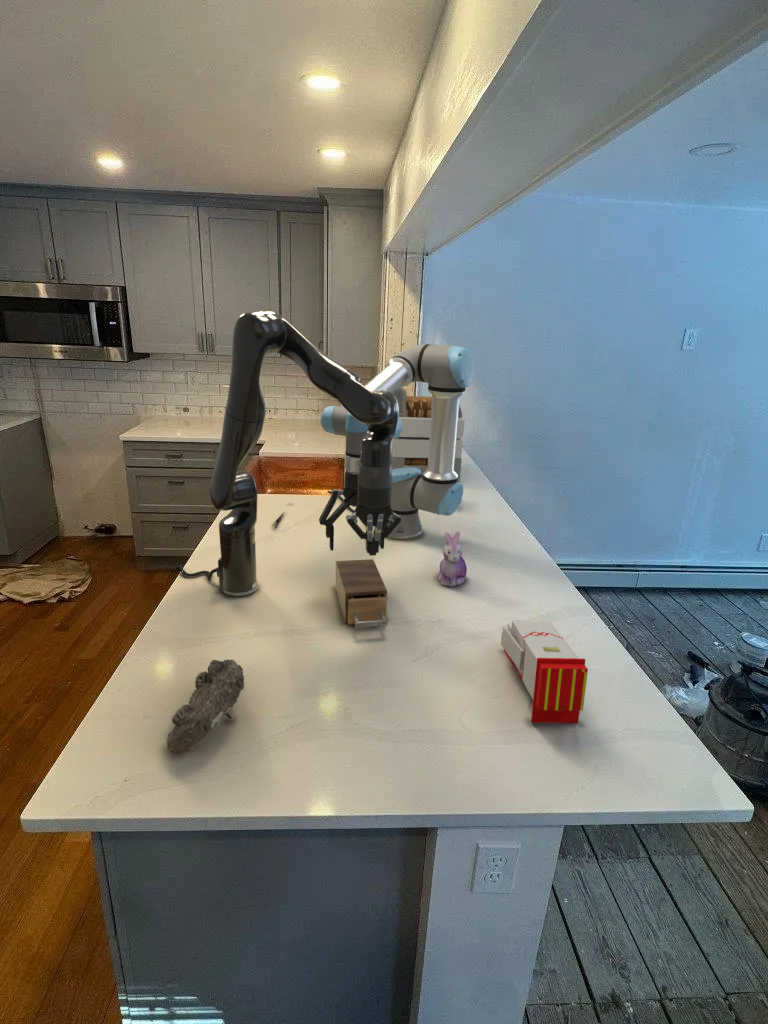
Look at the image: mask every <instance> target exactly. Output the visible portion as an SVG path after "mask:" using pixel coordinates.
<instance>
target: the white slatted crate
mask: <svg viewBox="0 0 768 1024" xmlns="http://www.w3.org/2000/svg"><path fill="white" fill-rule="evenodd" d="M407 394H408V393H407V390H406V389H404V387H401V388H400V389H399V390H398V391H396V392H395V393H394V394H393V395H394V396H395V397H396V399H397V401H398V406H399V418H400V419H401V422H402V431H401V434H400V435H399V436H398V437H397V438H395V439H393V444H392V470H393V469H397V468H405V466H406V467H408V466H411V467H415V466H416V467H417V466H418V467H428V455H429V440H430V425H431V410H432V396H415V395H414V396H413V395H412V396H411V395H407ZM464 429H465V419H464V418H463V411H462V408H461V405H460V404H459V413H458V425H457V437H456V449H455V461H454V471H455V472H456V473H457V475H458V482H460V483H461V472H462V461H463V460H462V453H463V442H464V441H463V440H462V439H463V438H464V431H465V430H464Z"/></svg>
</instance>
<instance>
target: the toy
mask: <svg viewBox="0 0 768 1024" xmlns="http://www.w3.org/2000/svg"><path fill="white" fill-rule="evenodd" d="M500 645H501V646H502V648H503V652H504V654H505V655H506V657H507V658H508V660H509V661H510V663H511V664H512V666H513V668H514V669H515V671H516V672H517V674H518V676H519V677H520V679H521V680H522V683H523V685H524V686H525V688H526V690H527V692H528V694H529V696H530V697H531V699H532V708H531V719H530V722H531V723H532V724H579V719H580V712H583V711H584V706H585V697H586V689H587V680H588V671H589V669H588V667H587V666H586V659H585V658H580V657H579V656H578V655H577V654H576V652H575V651H574V650H573V648H572V647H571V646H570V645H569V644H568V642H567V641H566V640H565V638H564V637H563V636H562V634H561V633H560V632H559V631H558V630H557V628H556V627H555V626H554V624H553V623H552V622H551V621H549V620H548V621H545V620H540V621H539V620H511V622H508V623H507V626H502V632H501V638H500Z"/></svg>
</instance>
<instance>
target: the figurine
mask: <svg viewBox="0 0 768 1024" xmlns="http://www.w3.org/2000/svg"><path fill="white" fill-rule="evenodd" d="M444 538H445V546H444V548H443V550H442V554H443V558H442V559H441V561H440V562H439V571H438V572H439V573H438V580H439V582H440V583H441V585H442V586H447V587H455V586H457V585H458V586H460V585H461V584H463V583H464V581H465V580H466V576H467V573H468V572H467V571H468V569H467V563H466V561H465V559H464V557H463V551H462V548H461V546H460V538H461V532H460V531H459V530H458V531H456V532H455V534H454V535H453V537H452V536H451V534H450V533H449V532H448V531H446V532H445V533H444Z"/></svg>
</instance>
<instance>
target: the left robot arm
mask: <svg viewBox="0 0 768 1024" xmlns="http://www.w3.org/2000/svg"><path fill="white" fill-rule="evenodd" d="M231 351H232V352H231V369H230V378H229V385H228V393H227V399H226V404H225V410H224V415H223V422H222V429H221V430H222V431H221V432H222V433H221V437H220V442H219V448H218V453H217V456H216V461H215V465H214V468H213V472H212V476H211V479H210V484H209V497H210V498H209V499H210V502H211V505H212V506H213V507H214V508H215V510H218V511H222V512H223V511H224V512H225V511H229V513H228V514H227V515H226V516H223V518H221V519H220V520H219V523H218V531H219V547H220V548H219V549H220V557H219V558H218V559H217V567H216V568H213V569H211V570H210V571H209V570H201V571H196V572H193V573H192V572H191V573H189V572H186V571H185V569H184V567H183V565H177V566H176V568H175V569H176V570H177V571H178V570H180V573H181V574H182V575H183V576H184V577H188V578H193V577H197V576H200V575H201V576H202V575H207V576H206V577H207V579H208V580H210V579H212V578H213V574H214V573H216V577H217V578H218V585H219V592H220V593H223V594H225V595H227V596H230V597H246V596H248V595H251V594H254V593H255V592H256V591H257V590H258V577H257V576H258V574H257V572H258V571H257V548H256V547H257V546H256V523H257V521H258V486H257V483H256V480H255V478H254V476H253V474H252V473H250V472H249V471H247V470H239V469H240V466H241V465H242V463H243V461H244V460H245V459H246V458H247V456H248V455H249V453H250V452H252V450H253V448H254V447H255V446H256V445H257V443H258V441H259V440H260V438H261V437H262V436H261V435H262V433H263V429H264V423H265V419H266V413H267V412H266V411H267V410H266V409H267V407H266V402H265V398H264V395H263V392H262V389H261V383H260V379H261V378H260V377H261V371H262V365H263V362H264V358H265V356H266V355H269V354H272V353H276V354H279V355H281V356H283V357H285V358H287V359H289V360H291V361H292V362H293V363H295V364H296V365H297V366H298V367H299V368H300V369H301V371H303V373H304V375H305V376H306V377H307V379H308V380H309V381H310V383H311V384H312V385H313V386H315V387H316V388H317V389H318V390H320V392H322V393H324V394H325V395H327V396H328V397H330V398H332V399H333V400H334V401H336V402H337V403H340V405H342V406H343V407H344V408H345V409H346V410H347V411H348V412H349V413H350V414H351V415H352V416H353V417H354V418H355V419H356V420H358V421H359V422H361V423H362V424H364V425H366V426H368V428H367V433H366V435H365V436H364V437H363V439H362V440H361V445H360V466H359V472H358V502H357V507H354V511H355V512H354V513H353V512H352V514H350V515H346V516H345V520H346V522H347V524H348V526H349V527H350V528H351V529H352V531H354V532H355V534H357V536H358V538H359V539H361V540H365V551H366V553H367V554H368V556H369V557H371V556H372V557H373V556H377V554H378V553H379V552H380V545H379V541H380V539H382V538H384V539H388V538H387V537H388V536H389V535H390V533H391V532H392V531H393V530H394V529H395V527H396V526H397V525H398V524H399V523H400V522H401V518H400V516H399V515H398V514H395V513H394V512H393V509H392V507H391V492H392V444H393V439H394V436H395V431H396V427H397V422H398V416H399V406H398V401H397V399H396V397H395V396H394V395H393V394H392V393H391V392H389V391H387V390H379V391H376V392H372V391H370V390H369V389H367V388H366V387H365V385H363V384H362V383H363V382H362V379H361V377H359V375H358V374H356V373H355V372H353V371H352V370H351V369H349V368H347V367H346V366H344V365H343V364H342V363H340V362H339V361H337V360H335V359H334V358H333V357H331V356H329V355H328V354H327V353H325V352H324V351H322V350H321V349H319V348H318V347H317V346H316V345H314V343H312V342H311V341H310V340H309V339H308V338H307V337H306V336H304V335H303V334H302V333H301V332H300V331H299V330H297V328H295V326H294V325H292V324H291V323H290V322H289V321H288V320H287V319H285V318H284V317H283V316H282V315H281V314H280V313H278V312H277V311H275V310H271V309H261V310H254V311H248V312H244V313H242V314H241V315H240V316H239V317H238V318H237V320H236V322H235V324H234V327H233V334H232V350H231ZM389 517H390V518H389ZM388 518H389V520H390V521H389V522H388V523H387V524H386V525H385V527H384V528H383V529H382V525H383V524H384V523H385V522H386V521H387V519H388ZM358 519H359V521H360V522H361V523H362V524H363V525H364V528H365V529H364V530H365V531H363V529H362V528H361V527H360V526H359V525H358ZM183 569H184V570H183ZM182 571H183V572H182Z"/></svg>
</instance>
